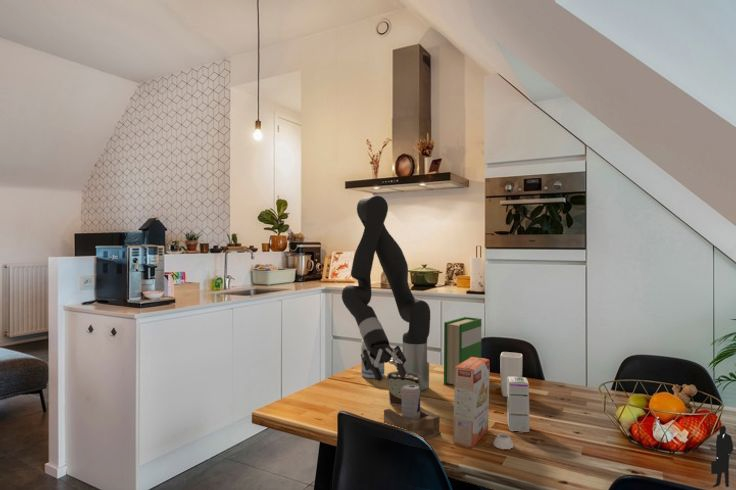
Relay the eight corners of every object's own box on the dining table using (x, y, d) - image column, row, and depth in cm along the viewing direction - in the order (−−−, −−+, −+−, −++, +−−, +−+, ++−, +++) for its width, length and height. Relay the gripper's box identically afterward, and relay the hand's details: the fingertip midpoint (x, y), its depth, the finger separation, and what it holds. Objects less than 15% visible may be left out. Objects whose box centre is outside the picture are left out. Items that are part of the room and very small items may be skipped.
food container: (426, 403, 151) (426, 373, 151) (420, 409, 146) (420, 378, 146) (392, 397, 156) (392, 369, 156) (385, 403, 151) (386, 373, 151)
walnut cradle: (415, 420, 136) (416, 403, 136) (440, 435, 125) (440, 416, 125) (382, 428, 130) (382, 410, 130) (405, 444, 119) (405, 424, 119)
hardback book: (461, 388, 167) (461, 324, 167) (443, 384, 172) (444, 322, 172) (480, 377, 181) (481, 318, 181) (464, 374, 186) (464, 316, 186)
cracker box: (474, 449, 117) (474, 369, 117) (452, 443, 120) (453, 366, 120) (490, 430, 129) (490, 358, 129) (469, 426, 132) (470, 355, 132)
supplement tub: (386, 378, 179) (387, 341, 179) (363, 379, 177) (364, 342, 177) (381, 371, 188) (381, 337, 188) (359, 372, 186) (359, 337, 186)
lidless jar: (489, 444, 120) (502, 452, 116) (489, 433, 120) (502, 440, 116) (504, 441, 122) (517, 448, 118) (504, 430, 122) (517, 437, 118)
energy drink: (421, 426, 129) (422, 385, 129) (417, 433, 124) (418, 390, 124) (403, 423, 131) (404, 383, 131) (399, 430, 126) (399, 388, 126)
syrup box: (529, 433, 127) (530, 382, 127) (508, 431, 128) (508, 381, 128) (526, 425, 133) (527, 376, 133) (506, 423, 134) (506, 375, 134)
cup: (499, 398, 157) (499, 355, 157) (501, 391, 163) (501, 351, 163) (521, 401, 154) (521, 358, 154) (522, 394, 161) (522, 353, 161)
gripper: (358, 329, 141) (377, 374, 131) (395, 326, 148) (416, 369, 138) (350, 343, 145) (368, 388, 135) (386, 339, 153) (405, 381, 143)
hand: (392, 378), depth 137 cm, fingers open, 8 cm apart
